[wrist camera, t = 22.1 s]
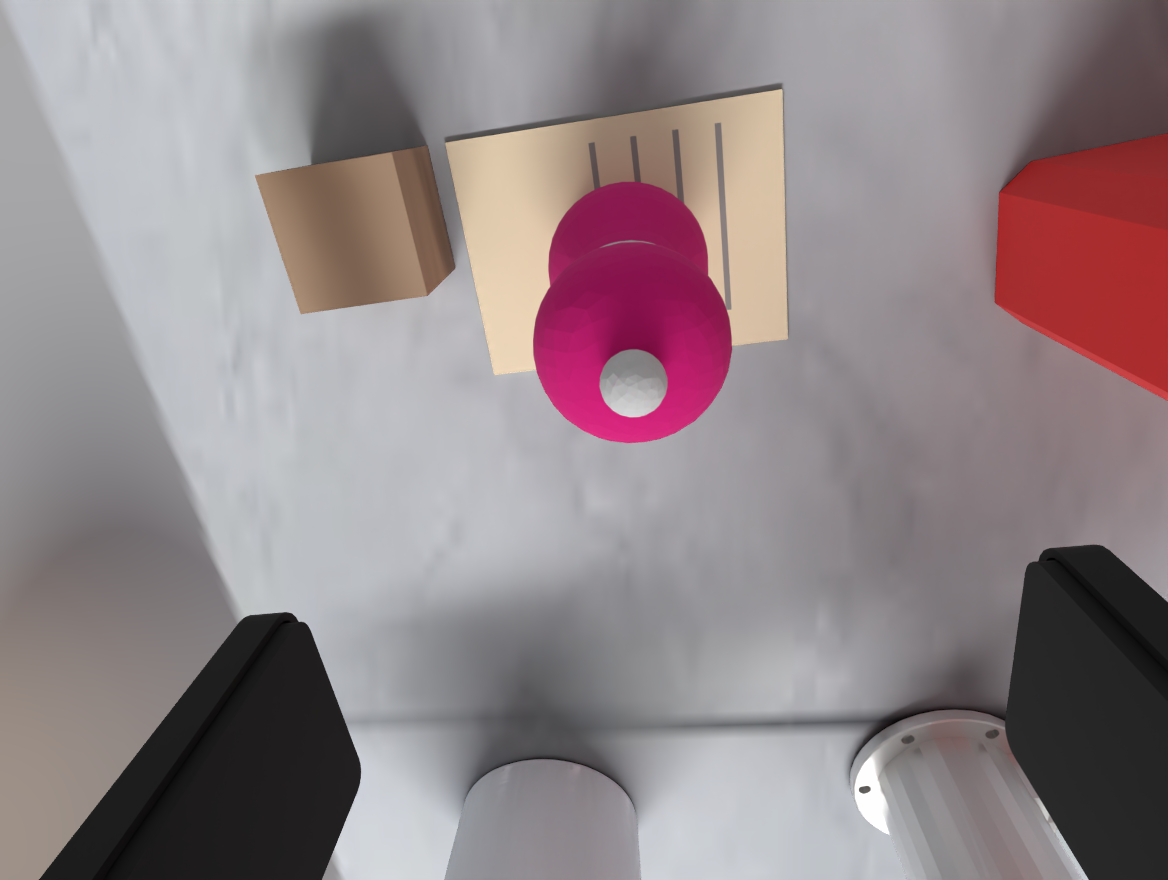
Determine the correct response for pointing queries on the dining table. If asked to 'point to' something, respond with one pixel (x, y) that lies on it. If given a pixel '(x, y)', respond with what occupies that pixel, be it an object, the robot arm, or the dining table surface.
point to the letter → (628, 154)
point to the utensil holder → (546, 826)
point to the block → (359, 229)
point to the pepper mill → (631, 316)
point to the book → (1092, 255)
